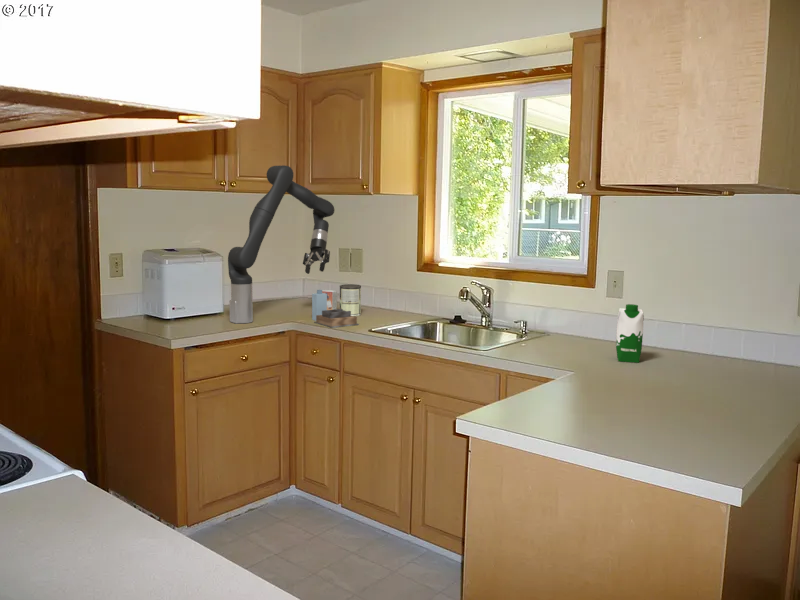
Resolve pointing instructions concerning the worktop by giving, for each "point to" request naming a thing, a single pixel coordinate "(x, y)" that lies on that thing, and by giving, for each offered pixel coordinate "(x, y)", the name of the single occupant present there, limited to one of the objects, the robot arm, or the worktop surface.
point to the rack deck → (336, 318)
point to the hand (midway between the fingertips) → (314, 272)
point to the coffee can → (351, 298)
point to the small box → (331, 299)
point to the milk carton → (629, 333)
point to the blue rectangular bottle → (318, 303)
